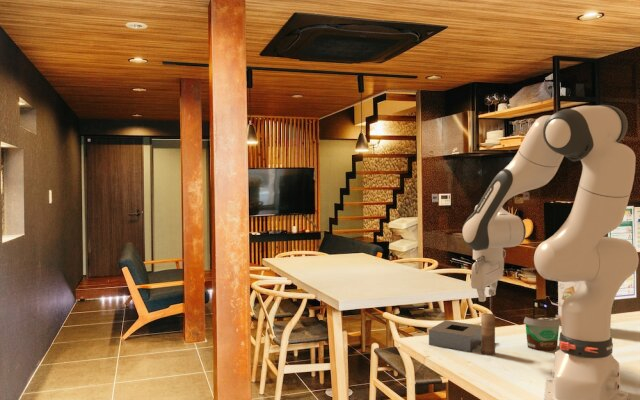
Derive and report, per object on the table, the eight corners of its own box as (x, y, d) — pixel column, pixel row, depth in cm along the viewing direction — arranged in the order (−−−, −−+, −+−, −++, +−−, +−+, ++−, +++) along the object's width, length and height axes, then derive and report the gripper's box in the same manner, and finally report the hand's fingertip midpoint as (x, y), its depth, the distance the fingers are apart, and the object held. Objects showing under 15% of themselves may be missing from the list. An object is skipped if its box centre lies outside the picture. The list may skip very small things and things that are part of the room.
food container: (535, 353, 163) (535, 321, 163) (523, 347, 169) (523, 316, 169) (570, 350, 166) (570, 319, 165) (557, 344, 172) (557, 314, 171)
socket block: (470, 352, 166) (470, 336, 165) (428, 344, 174) (428, 329, 174) (485, 340, 177) (485, 326, 177) (445, 334, 185) (445, 320, 185)
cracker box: (557, 325, 195) (557, 268, 194) (570, 323, 197) (570, 267, 196) (587, 335, 182) (587, 274, 181) (600, 333, 184) (600, 273, 183)
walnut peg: (492, 356, 162) (492, 317, 161) (479, 353, 164) (479, 315, 164) (496, 352, 165) (496, 314, 164) (484, 350, 167) (483, 312, 167)
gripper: (486, 259, 153) (486, 306, 154) (507, 250, 170) (507, 293, 170) (465, 257, 157) (465, 303, 158) (487, 249, 173) (487, 290, 174)
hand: (487, 298), depth 164 cm, fingers open, 8 cm apart
